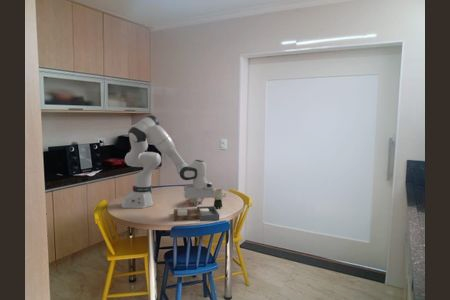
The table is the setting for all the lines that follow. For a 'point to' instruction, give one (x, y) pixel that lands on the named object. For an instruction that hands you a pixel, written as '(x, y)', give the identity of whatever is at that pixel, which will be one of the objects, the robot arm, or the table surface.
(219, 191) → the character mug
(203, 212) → the tile
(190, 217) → the board
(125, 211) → the table surface
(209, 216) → the box
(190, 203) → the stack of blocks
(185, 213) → the tile
